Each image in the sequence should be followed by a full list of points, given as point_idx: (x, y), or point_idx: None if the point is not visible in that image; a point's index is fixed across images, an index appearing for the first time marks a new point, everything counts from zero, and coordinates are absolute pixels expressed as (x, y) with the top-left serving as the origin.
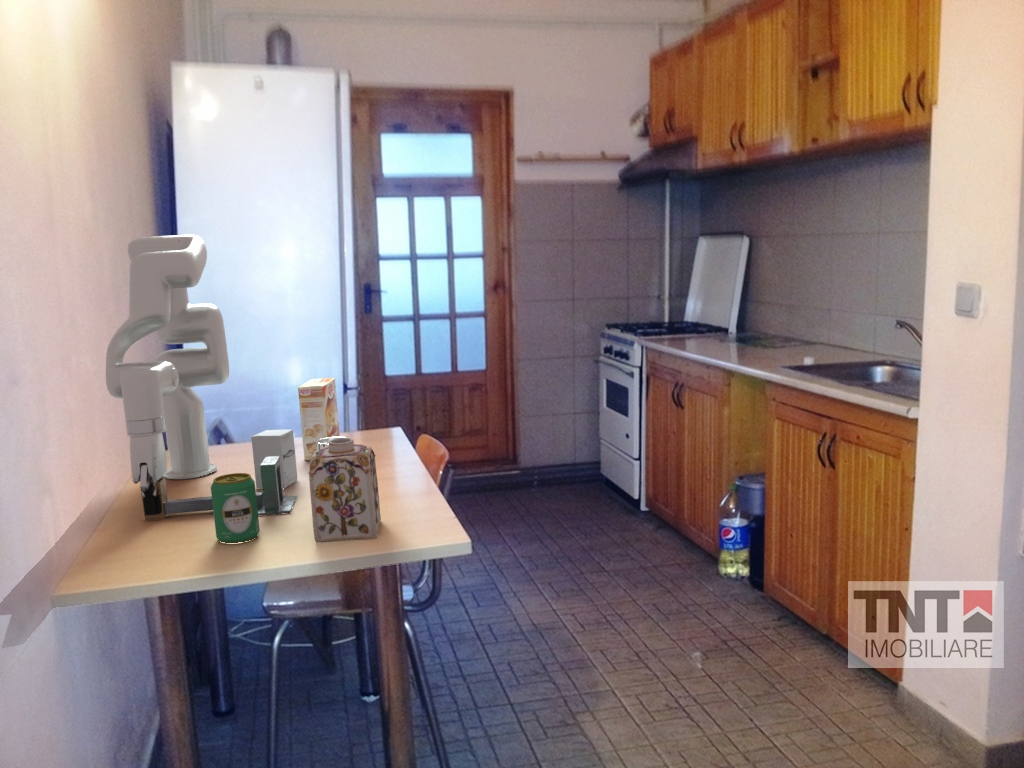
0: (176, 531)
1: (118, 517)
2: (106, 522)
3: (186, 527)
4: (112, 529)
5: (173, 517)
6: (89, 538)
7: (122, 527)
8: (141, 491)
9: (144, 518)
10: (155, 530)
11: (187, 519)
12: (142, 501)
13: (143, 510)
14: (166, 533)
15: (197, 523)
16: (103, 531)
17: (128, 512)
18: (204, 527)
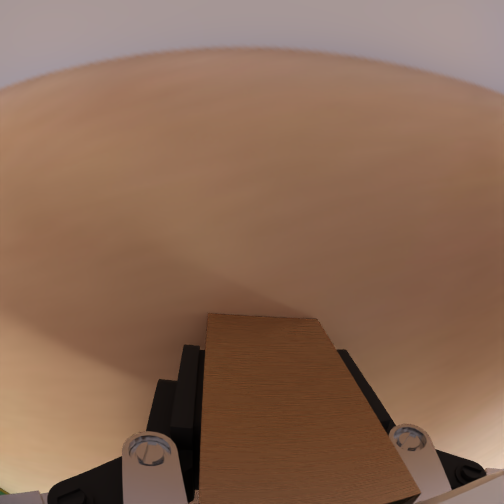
0: (31, 432)
1: (359, 138)
2: (276, 81)
3: (70, 458)
4: (98, 156)
5: None
6: (3, 88)
7: (117, 207)
8: (202, 452)
9: (208, 319)
10: (40, 375)
11: None
12: (203, 386)
13: (206, 345)
14: (11, 406)
15: None
16: (81, 113)
17: (431, 184)
18: None
